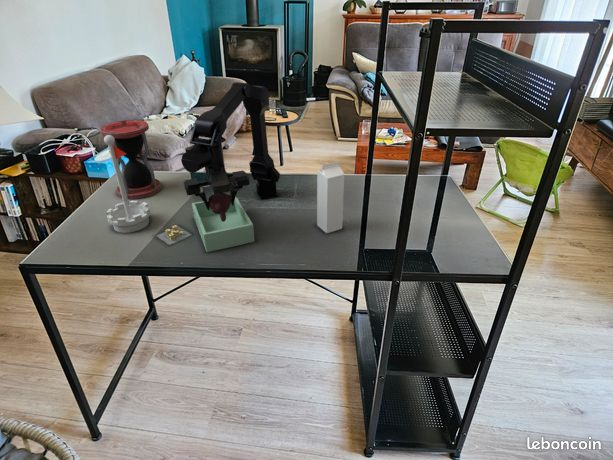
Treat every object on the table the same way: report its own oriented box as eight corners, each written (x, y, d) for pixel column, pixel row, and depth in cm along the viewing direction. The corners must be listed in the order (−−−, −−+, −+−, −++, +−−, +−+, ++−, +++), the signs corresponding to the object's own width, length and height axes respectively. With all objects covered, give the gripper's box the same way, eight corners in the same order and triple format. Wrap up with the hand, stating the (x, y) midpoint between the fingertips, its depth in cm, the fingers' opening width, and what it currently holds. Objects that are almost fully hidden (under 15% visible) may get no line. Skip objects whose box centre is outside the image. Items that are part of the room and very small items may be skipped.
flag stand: (101, 230, 131) (73, 139, 116) (129, 212, 142) (106, 126, 127) (134, 237, 128) (109, 144, 112) (160, 218, 138) (141, 130, 123)
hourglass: (169, 183, 163) (156, 120, 150) (146, 201, 149) (130, 134, 136) (133, 179, 166) (117, 118, 153) (108, 197, 152) (89, 131, 140)
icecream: (203, 185, 130) (204, 210, 118) (225, 177, 130) (228, 202, 118) (211, 202, 134) (213, 228, 122) (233, 195, 134) (236, 220, 122)
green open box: (237, 211, 142) (235, 195, 139) (254, 241, 125) (253, 224, 121) (194, 219, 137) (191, 203, 134) (206, 252, 120) (203, 234, 117)
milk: (342, 229, 131) (345, 164, 119) (326, 233, 128) (327, 168, 117) (332, 220, 135) (334, 157, 124) (316, 225, 133) (317, 161, 121)
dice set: (171, 241, 125) (170, 236, 124) (162, 235, 128) (161, 230, 127) (185, 235, 128) (184, 229, 127) (176, 229, 131) (175, 224, 130)
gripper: (185, 175, 109) (194, 225, 117) (252, 164, 115) (256, 213, 123) (179, 161, 118) (188, 209, 126) (242, 152, 124) (246, 198, 132)
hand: (220, 207), depth 127 cm, fingers closed on icecream, 7 cm apart
